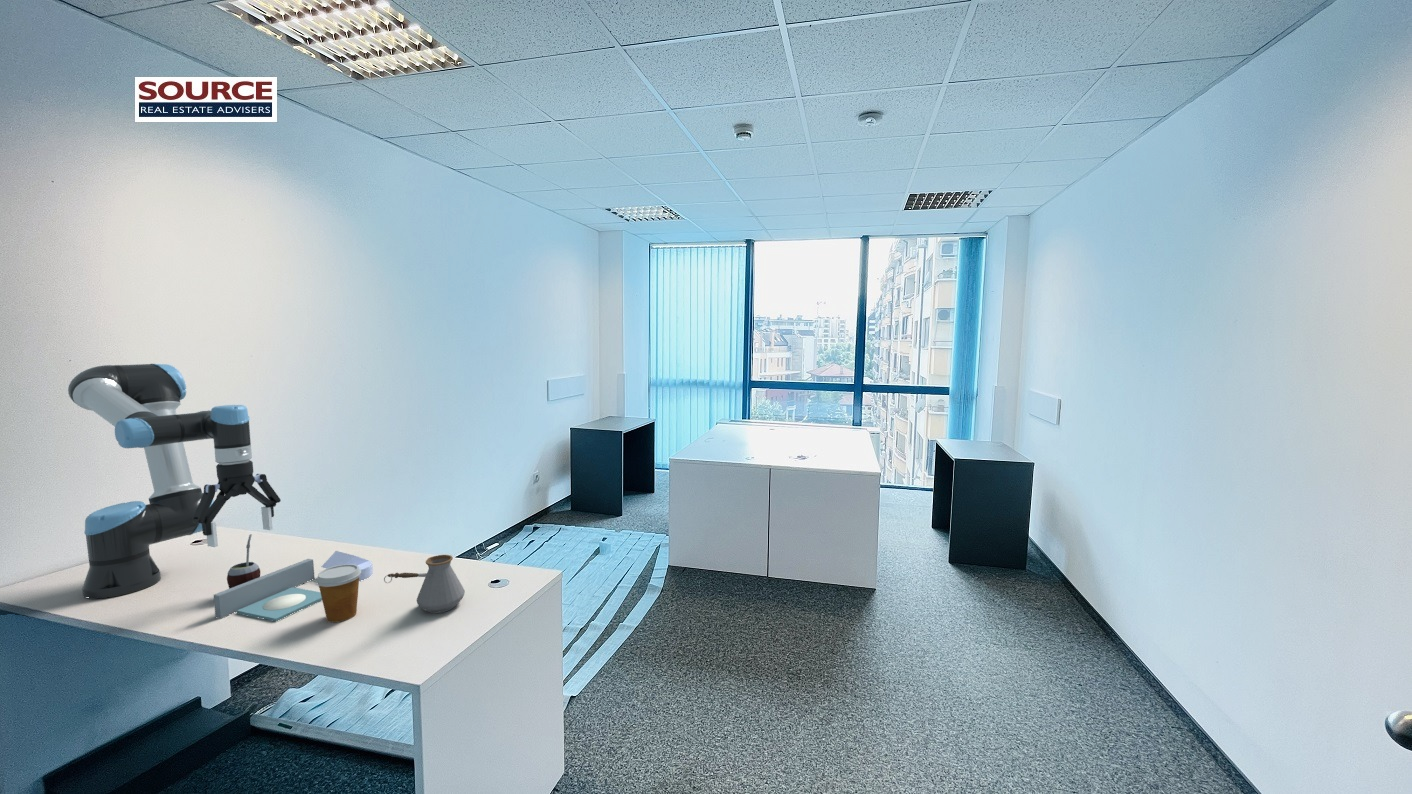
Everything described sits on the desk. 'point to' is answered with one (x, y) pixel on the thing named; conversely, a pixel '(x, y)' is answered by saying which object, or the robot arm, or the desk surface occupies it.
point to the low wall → (262, 587)
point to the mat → (282, 604)
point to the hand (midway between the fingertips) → (241, 537)
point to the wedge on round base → (345, 558)
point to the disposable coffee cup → (339, 591)
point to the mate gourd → (243, 571)
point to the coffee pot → (437, 585)
